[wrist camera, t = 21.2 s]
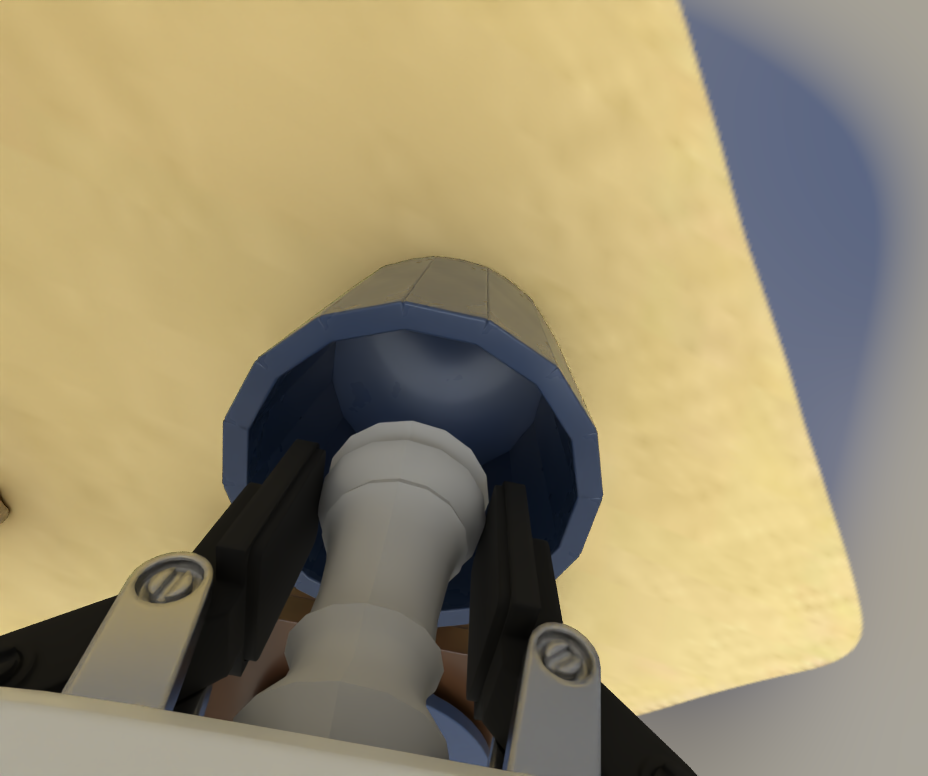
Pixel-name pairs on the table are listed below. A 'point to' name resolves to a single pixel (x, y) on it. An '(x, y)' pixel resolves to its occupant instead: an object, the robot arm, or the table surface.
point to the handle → (3, 512)
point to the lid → (458, 733)
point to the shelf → (274, 667)
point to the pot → (429, 397)
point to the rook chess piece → (380, 591)
